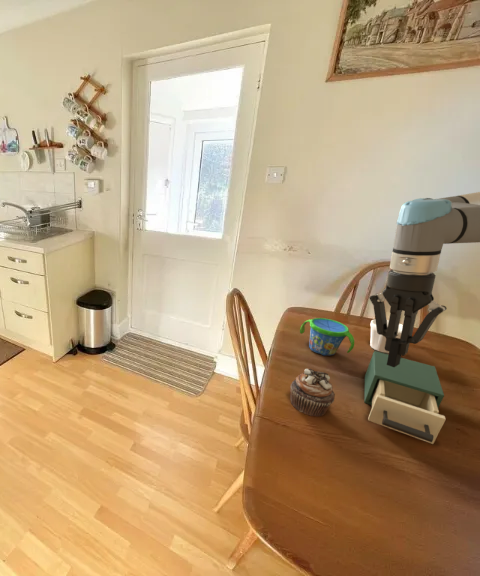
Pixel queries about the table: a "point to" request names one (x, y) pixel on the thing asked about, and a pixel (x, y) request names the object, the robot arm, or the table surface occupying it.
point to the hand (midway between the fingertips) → (393, 364)
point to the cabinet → (402, 376)
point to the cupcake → (312, 392)
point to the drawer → (406, 411)
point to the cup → (380, 337)
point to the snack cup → (327, 335)
